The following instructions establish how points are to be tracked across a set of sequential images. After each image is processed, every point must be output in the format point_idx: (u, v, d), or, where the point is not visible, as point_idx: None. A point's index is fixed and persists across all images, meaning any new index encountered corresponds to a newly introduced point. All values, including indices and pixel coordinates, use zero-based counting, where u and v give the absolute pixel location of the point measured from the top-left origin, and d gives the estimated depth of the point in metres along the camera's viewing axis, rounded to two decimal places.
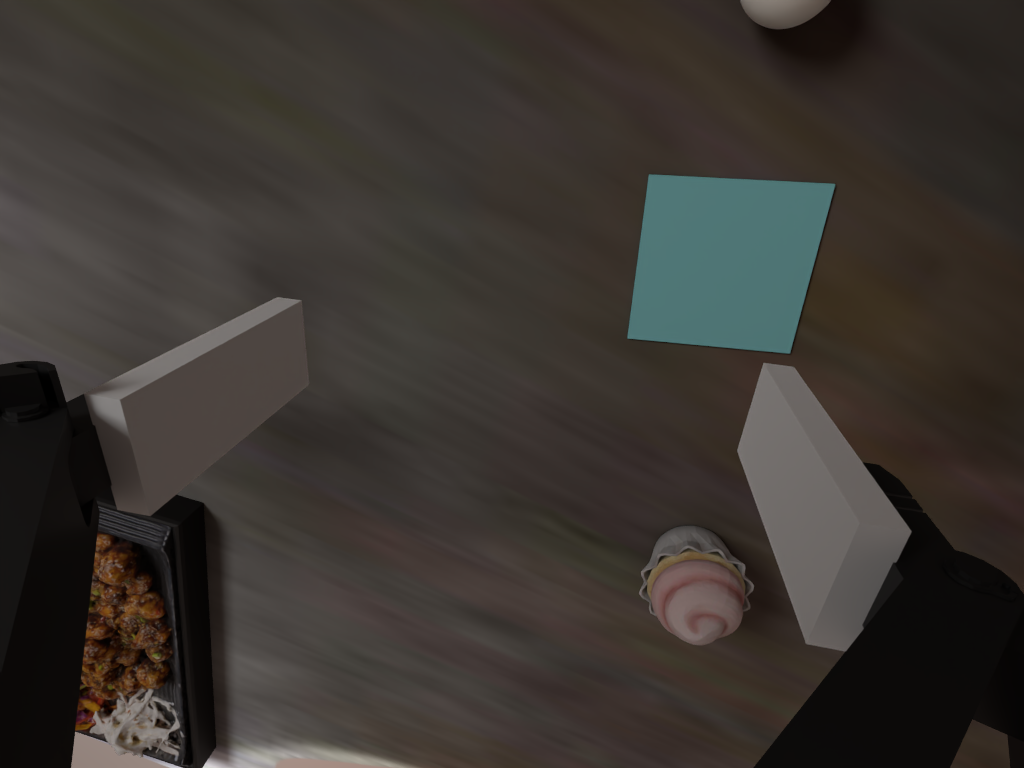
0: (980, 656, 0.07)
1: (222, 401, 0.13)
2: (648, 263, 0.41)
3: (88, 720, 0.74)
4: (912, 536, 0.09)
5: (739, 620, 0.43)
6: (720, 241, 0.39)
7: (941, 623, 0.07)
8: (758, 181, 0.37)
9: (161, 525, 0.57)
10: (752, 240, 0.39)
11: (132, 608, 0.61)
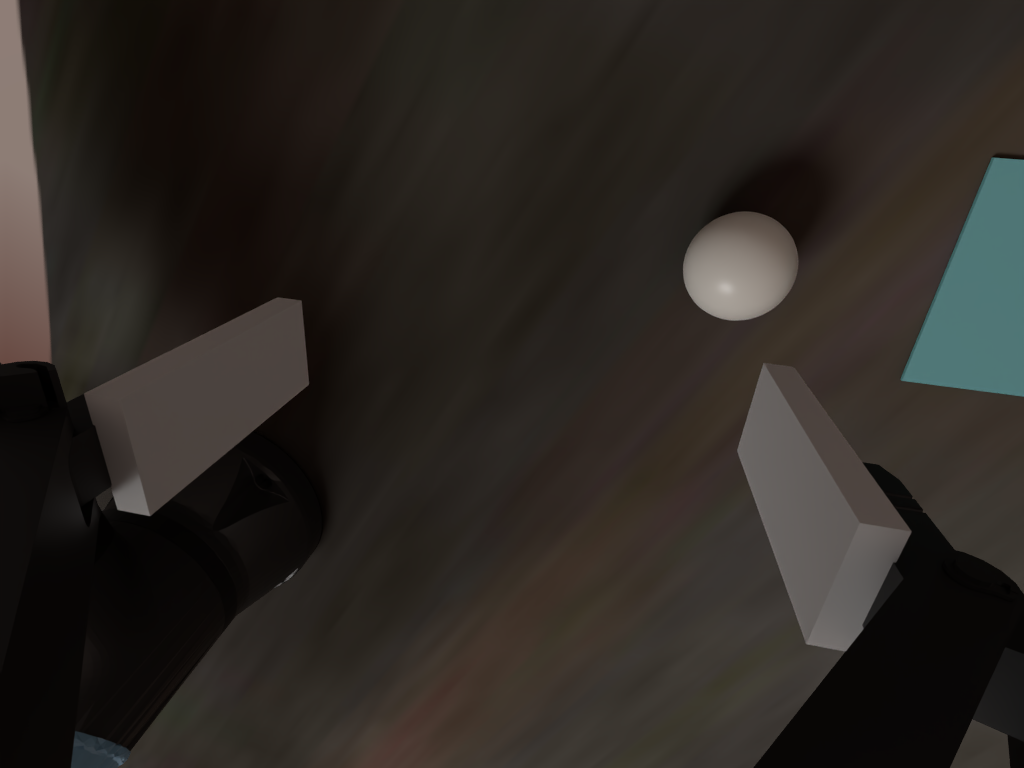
0: (980, 656, 0.07)
1: (221, 401, 0.13)
2: None
3: None
4: (912, 536, 0.09)
5: None
6: None
7: (941, 623, 0.07)
8: (955, 256, 0.29)
9: None
10: None
11: None
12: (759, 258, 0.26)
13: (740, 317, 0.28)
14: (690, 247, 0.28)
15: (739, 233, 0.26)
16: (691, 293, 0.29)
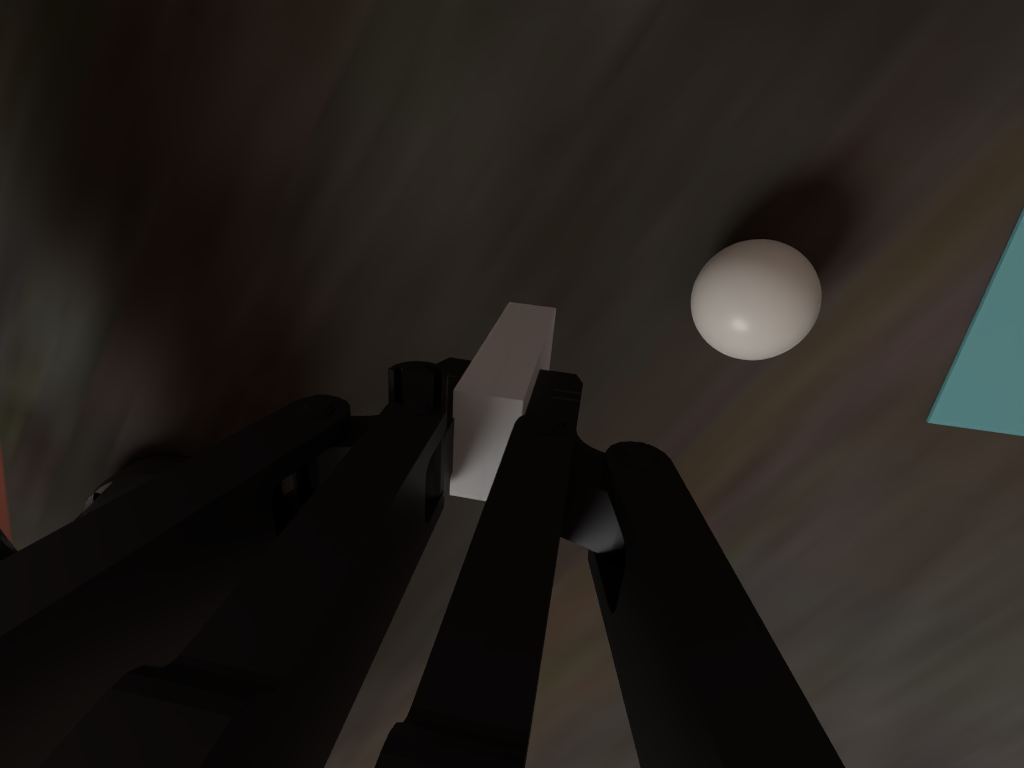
0: (559, 475, 0.09)
1: None
2: None
3: None
4: (552, 414, 0.12)
5: None
6: None
7: (534, 465, 0.10)
8: (991, 289, 0.26)
9: None
10: None
11: None
12: (780, 294, 0.23)
13: (756, 357, 0.25)
14: (700, 278, 0.25)
15: (757, 265, 0.23)
16: (700, 329, 0.26)
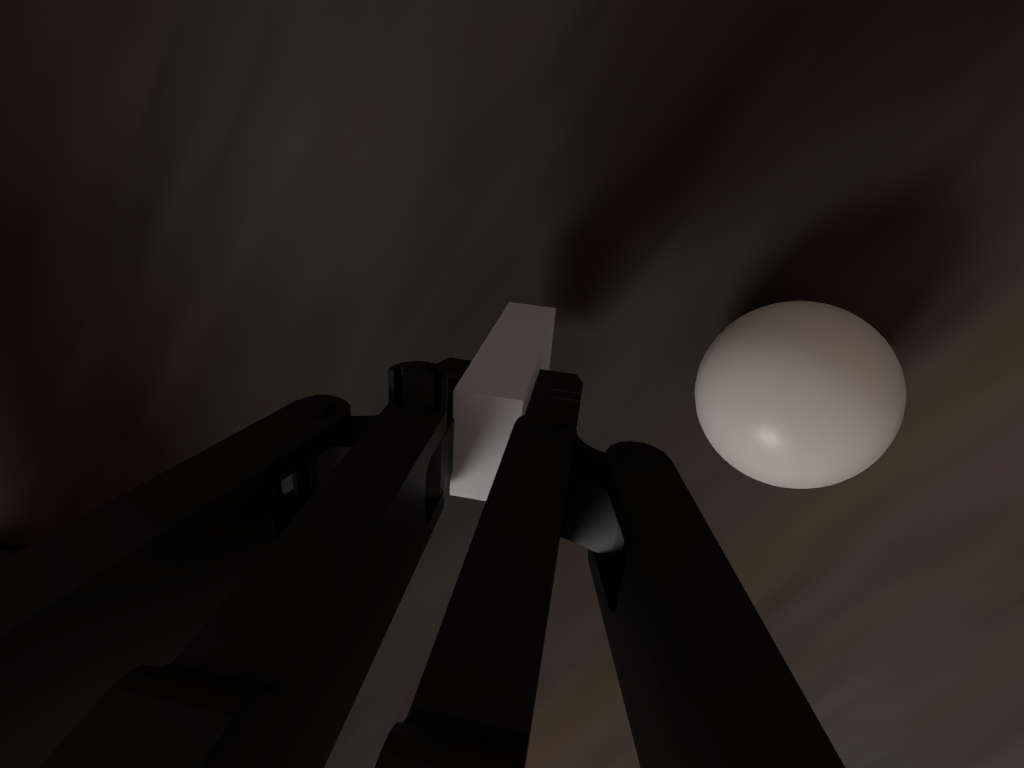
0: (559, 475, 0.09)
1: None
2: None
3: None
4: (552, 414, 0.12)
5: None
6: None
7: (534, 465, 0.10)
8: None
9: None
10: None
11: None
12: (844, 403, 0.14)
13: (797, 487, 0.16)
14: (709, 361, 0.16)
15: (805, 352, 0.14)
16: (710, 438, 0.17)
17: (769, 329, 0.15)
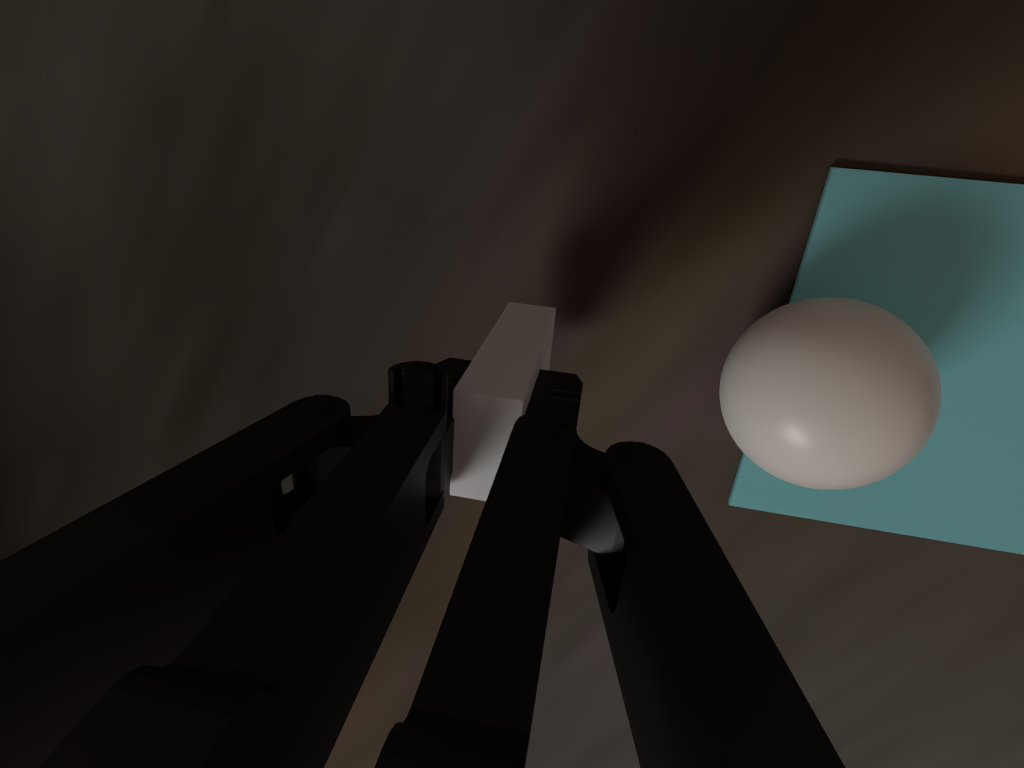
0: (559, 475, 0.09)
1: None
2: (909, 516, 0.20)
3: None
4: (552, 414, 0.12)
5: None
6: None
7: (534, 465, 0.10)
8: None
9: None
10: (920, 329, 0.17)
11: None
12: None
13: None
14: None
15: None
16: None
17: None
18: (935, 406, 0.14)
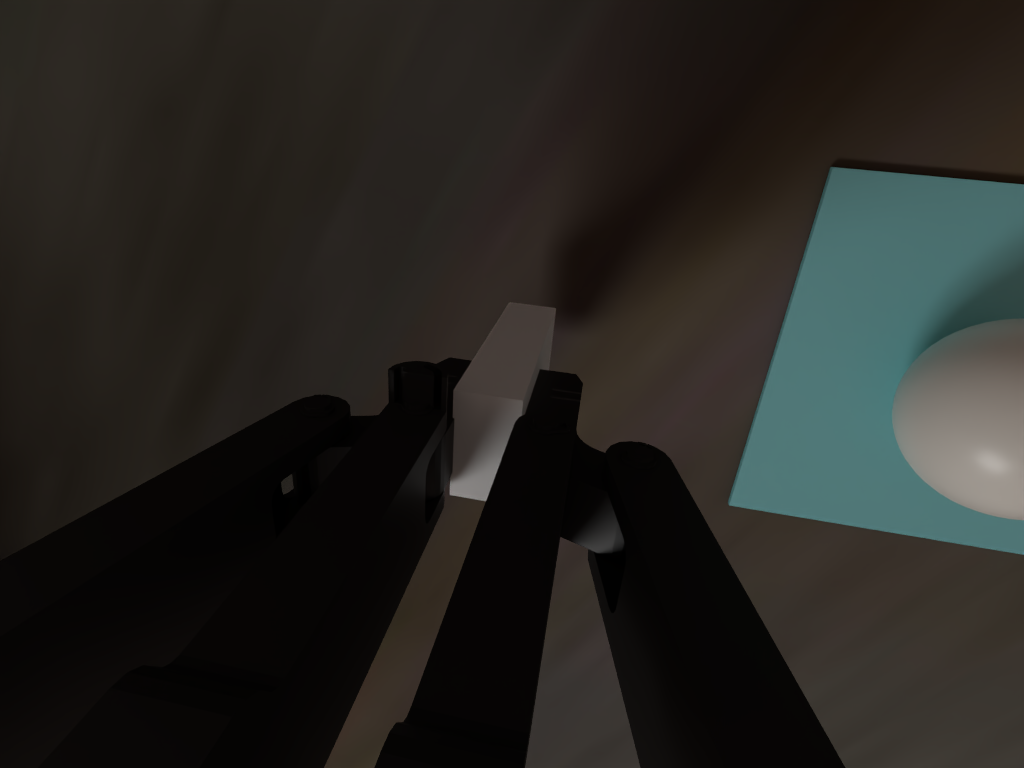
0: (559, 475, 0.09)
1: None
2: (909, 516, 0.20)
3: None
4: (552, 414, 0.12)
5: None
6: None
7: (534, 465, 0.10)
8: (786, 326, 0.18)
9: None
10: (920, 329, 0.17)
11: None
12: None
13: (1001, 516, 0.15)
14: (913, 370, 0.16)
15: None
16: (902, 449, 0.16)
17: (988, 342, 0.14)
18: None
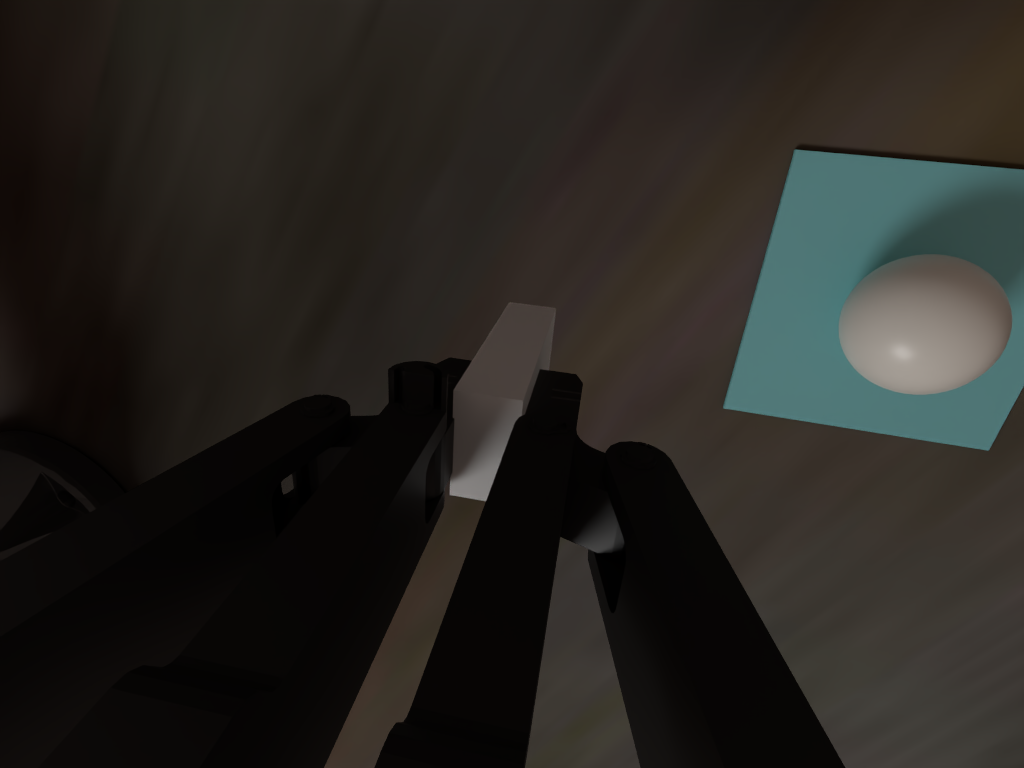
0: (559, 475, 0.09)
1: None
2: (859, 414, 0.26)
3: None
4: (552, 414, 0.12)
5: None
6: None
7: (534, 465, 0.10)
8: (765, 266, 0.25)
9: None
10: (861, 268, 0.24)
11: None
12: (941, 318, 0.19)
13: (907, 390, 0.22)
14: (851, 293, 0.23)
15: (918, 282, 0.20)
16: (843, 350, 0.23)
17: (897, 268, 0.21)
18: None
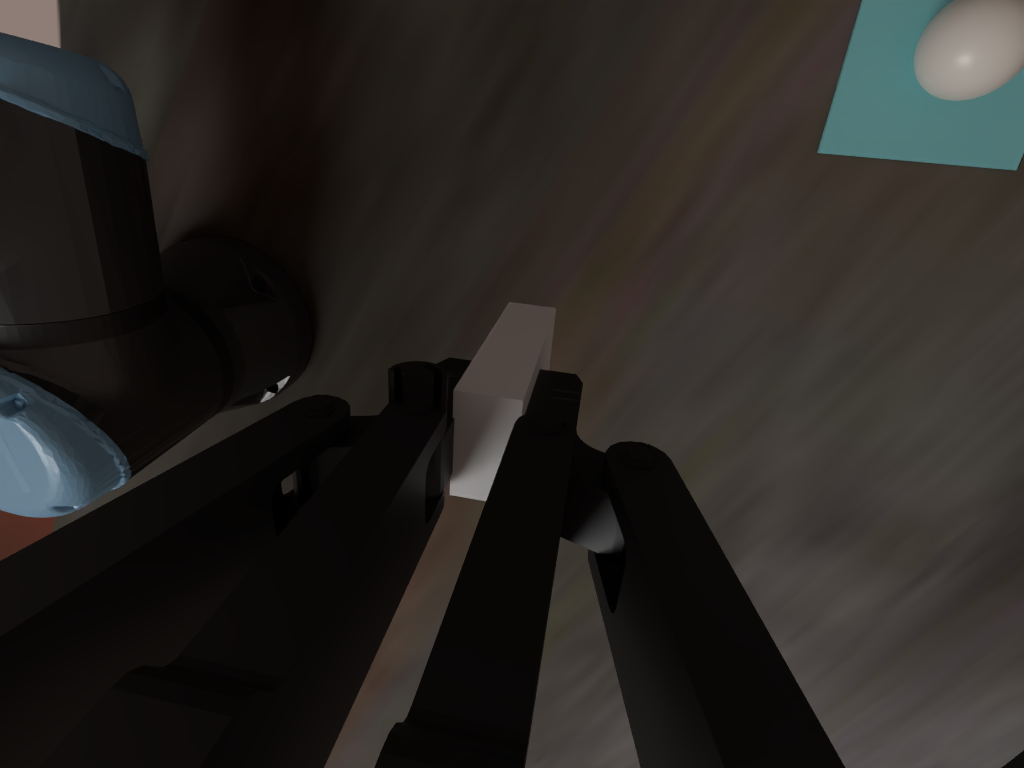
0: (559, 475, 0.09)
1: None
2: (921, 148, 0.36)
3: None
4: (552, 414, 0.12)
5: None
6: None
7: (534, 465, 0.10)
8: (857, 25, 0.34)
9: None
10: (928, 20, 0.33)
11: None
12: (996, 15, 0.29)
13: (968, 87, 0.31)
14: (925, 28, 0.32)
15: None
16: (919, 72, 0.32)
17: None
18: None
